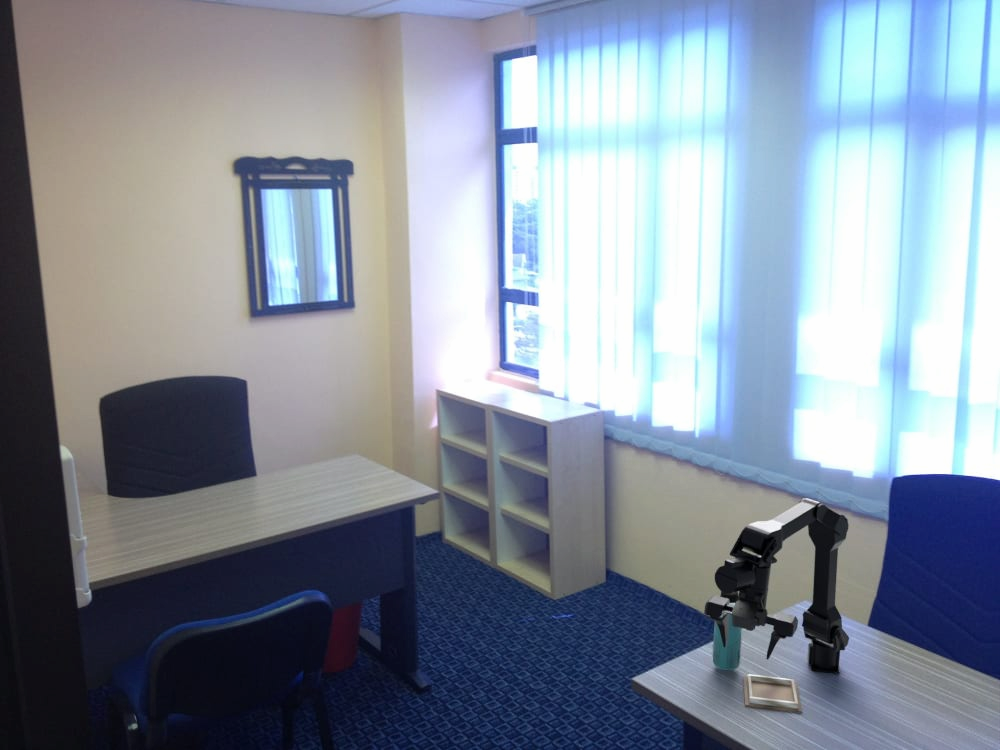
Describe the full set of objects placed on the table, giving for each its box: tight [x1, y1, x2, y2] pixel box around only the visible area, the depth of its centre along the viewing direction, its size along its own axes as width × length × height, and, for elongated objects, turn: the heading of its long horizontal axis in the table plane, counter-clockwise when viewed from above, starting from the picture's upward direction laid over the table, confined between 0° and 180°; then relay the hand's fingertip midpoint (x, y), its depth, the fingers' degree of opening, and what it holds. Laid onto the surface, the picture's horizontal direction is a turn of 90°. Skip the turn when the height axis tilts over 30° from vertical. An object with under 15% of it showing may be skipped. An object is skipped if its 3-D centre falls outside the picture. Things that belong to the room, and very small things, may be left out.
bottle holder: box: [742, 673, 803, 714], centre depth 204 cm, size 12×12×2 cm
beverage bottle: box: [711, 591, 743, 671], centre depth 212 cm, size 6×7×20 cm
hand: (746, 652), depth 195 cm, fingers open, 9 cm apart
